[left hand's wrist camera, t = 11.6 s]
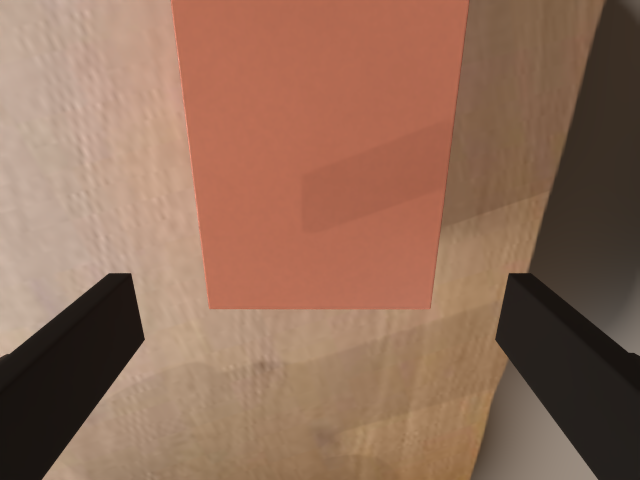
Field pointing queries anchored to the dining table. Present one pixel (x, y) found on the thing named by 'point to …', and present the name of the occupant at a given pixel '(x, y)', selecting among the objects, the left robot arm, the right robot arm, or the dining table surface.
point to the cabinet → (319, 146)
